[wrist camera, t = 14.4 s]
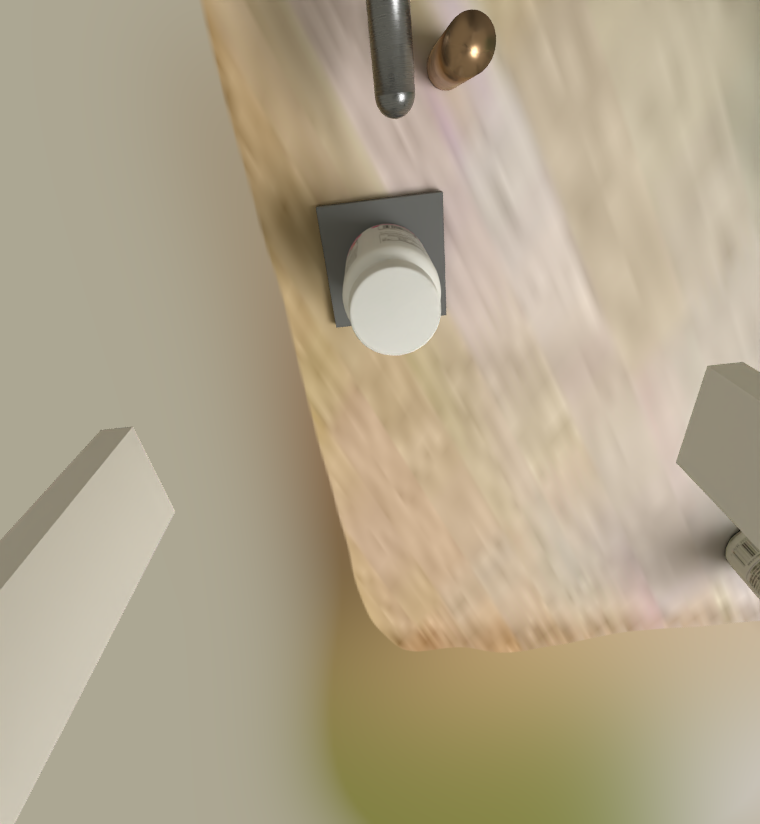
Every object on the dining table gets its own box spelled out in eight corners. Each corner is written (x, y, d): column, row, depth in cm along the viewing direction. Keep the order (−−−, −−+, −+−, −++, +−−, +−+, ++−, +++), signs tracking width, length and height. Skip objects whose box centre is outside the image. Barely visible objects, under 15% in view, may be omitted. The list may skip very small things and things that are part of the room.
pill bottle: (374, 319, 28) (377, 382, 20) (330, 252, 25) (316, 297, 18) (441, 278, 26) (468, 330, 19) (400, 204, 24) (415, 232, 17)
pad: (317, 206, 25) (316, 207, 24) (440, 190, 24) (442, 192, 24) (336, 324, 28) (336, 327, 28) (444, 311, 28) (446, 315, 28)
